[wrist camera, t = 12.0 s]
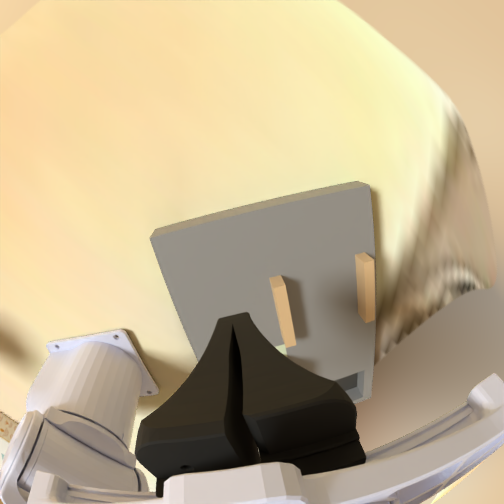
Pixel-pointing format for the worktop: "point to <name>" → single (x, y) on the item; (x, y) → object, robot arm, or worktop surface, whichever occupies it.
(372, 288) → the board
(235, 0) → the worktop surface
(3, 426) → the cereal box
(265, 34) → the worktop surface
